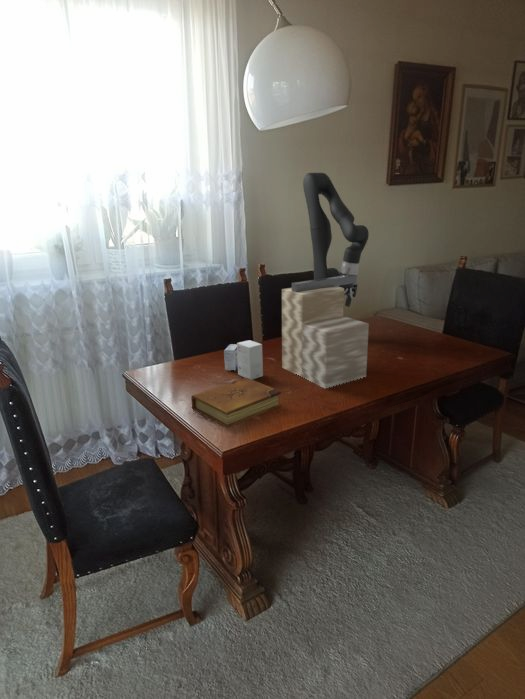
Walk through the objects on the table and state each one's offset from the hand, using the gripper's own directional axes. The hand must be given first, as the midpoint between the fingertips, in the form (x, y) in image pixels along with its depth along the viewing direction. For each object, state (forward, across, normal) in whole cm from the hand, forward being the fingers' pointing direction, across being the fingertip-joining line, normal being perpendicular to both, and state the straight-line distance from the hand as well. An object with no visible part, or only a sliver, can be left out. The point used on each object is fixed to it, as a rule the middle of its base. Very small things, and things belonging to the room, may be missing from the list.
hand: (341, 307), depth 224 cm
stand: (+17, +31, +20) cm, 40 cm away
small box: (+21, +53, +3) cm, 57 cm away
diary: (+20, +75, +21) cm, 81 cm away
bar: (-14, +26, +9) cm, 31 cm away
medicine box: (+23, +52, -9) cm, 57 cm away
